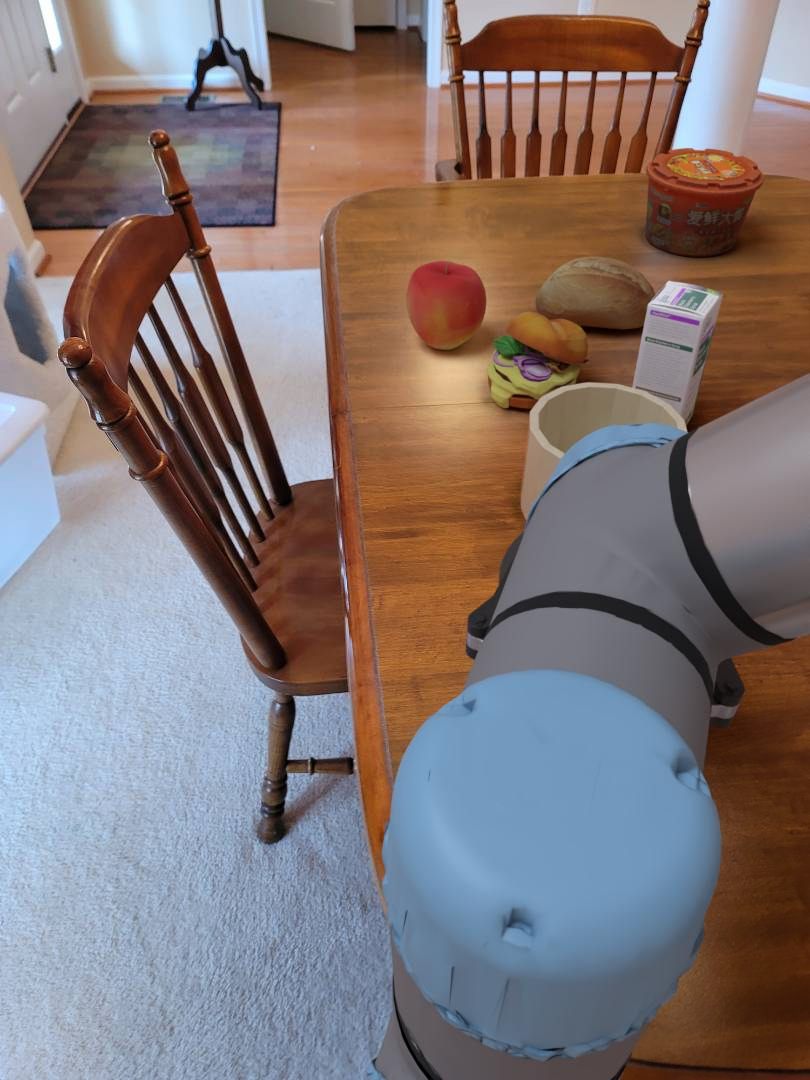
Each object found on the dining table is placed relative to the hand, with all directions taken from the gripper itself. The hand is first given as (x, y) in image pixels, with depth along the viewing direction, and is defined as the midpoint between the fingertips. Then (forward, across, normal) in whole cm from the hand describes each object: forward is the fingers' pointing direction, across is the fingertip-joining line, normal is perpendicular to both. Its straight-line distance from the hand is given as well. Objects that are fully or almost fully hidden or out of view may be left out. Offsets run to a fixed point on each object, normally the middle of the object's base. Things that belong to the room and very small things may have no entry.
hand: (647, 470), depth 51 cm
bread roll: (+55, -11, -20) cm, 60 cm away
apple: (+44, -27, -20) cm, 55 cm away
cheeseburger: (+37, -15, -20) cm, 45 cm away
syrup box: (+36, 0, -20) cm, 41 cm away
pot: (+20, -4, -20) cm, 28 cm away
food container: (+85, -3, -20) cm, 87 cm away
